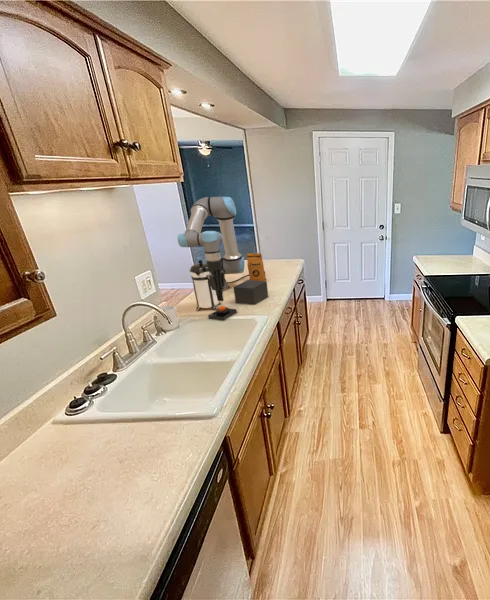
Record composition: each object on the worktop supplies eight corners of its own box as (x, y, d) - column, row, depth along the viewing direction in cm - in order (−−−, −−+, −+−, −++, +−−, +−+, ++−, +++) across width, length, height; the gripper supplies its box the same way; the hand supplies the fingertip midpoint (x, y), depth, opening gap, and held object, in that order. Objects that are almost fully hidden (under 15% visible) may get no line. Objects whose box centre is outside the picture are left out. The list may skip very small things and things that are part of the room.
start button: (221, 308, 192) (221, 305, 192) (227, 309, 191) (226, 306, 191) (216, 310, 188) (216, 308, 188) (222, 311, 188) (222, 308, 187)
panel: (222, 311, 198) (221, 304, 196) (236, 312, 195) (236, 306, 194) (208, 318, 187) (207, 312, 185) (223, 320, 184) (222, 314, 183)
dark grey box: (250, 294, 225) (248, 279, 221) (268, 296, 222) (266, 281, 218) (235, 302, 211) (233, 286, 207) (254, 304, 207) (252, 288, 204)
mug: (173, 331, 171) (169, 311, 168) (156, 331, 172) (151, 311, 168) (185, 322, 183) (181, 303, 179) (169, 322, 183) (165, 303, 179)
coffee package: (264, 282, 251) (261, 254, 244) (248, 283, 250) (244, 254, 243) (267, 278, 261) (264, 251, 253) (251, 279, 260) (247, 252, 252)
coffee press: (227, 306, 204) (220, 259, 194) (201, 314, 193) (191, 264, 183) (215, 300, 216) (207, 255, 205) (190, 306, 205) (180, 259, 194)
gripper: (211, 263, 173) (218, 305, 181) (227, 257, 185) (233, 297, 193) (199, 262, 175) (207, 303, 183) (216, 257, 186) (222, 296, 194)
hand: (220, 300), depth 188 cm, fingers closed
